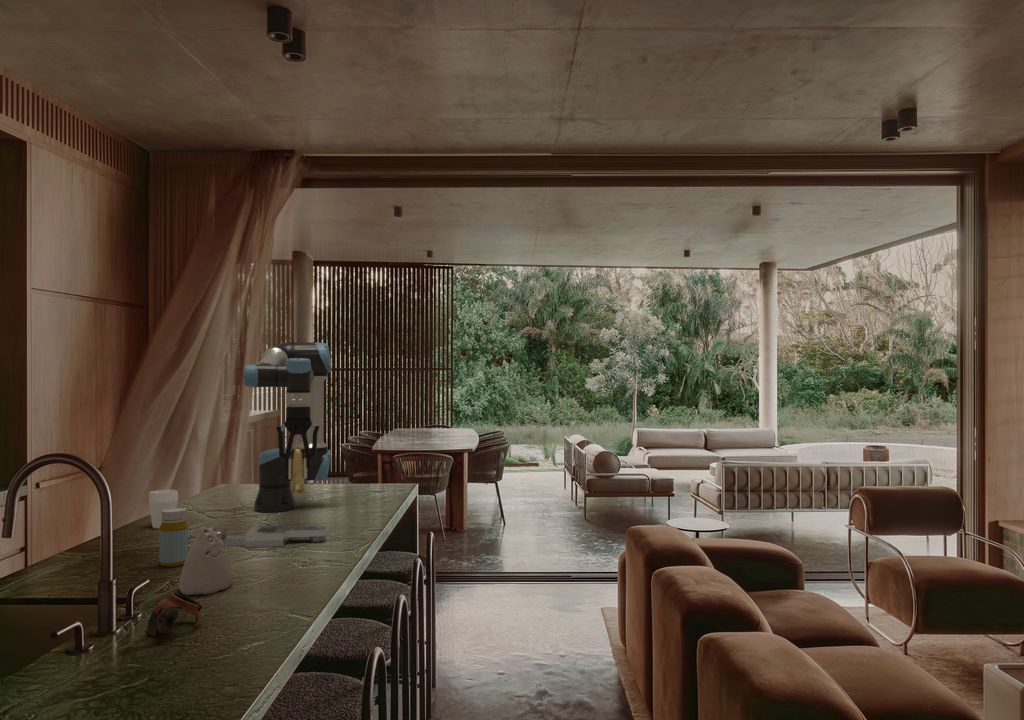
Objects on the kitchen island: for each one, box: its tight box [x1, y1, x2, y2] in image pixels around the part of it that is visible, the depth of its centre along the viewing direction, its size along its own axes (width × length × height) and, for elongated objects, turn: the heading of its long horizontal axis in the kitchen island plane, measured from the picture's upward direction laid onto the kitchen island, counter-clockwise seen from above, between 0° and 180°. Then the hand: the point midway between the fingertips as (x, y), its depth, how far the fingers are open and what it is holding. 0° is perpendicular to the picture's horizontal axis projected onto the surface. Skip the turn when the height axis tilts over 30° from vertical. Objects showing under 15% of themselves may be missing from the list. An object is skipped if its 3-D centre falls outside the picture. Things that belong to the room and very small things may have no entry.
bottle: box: [158, 507, 189, 568], centre depth 190 cm, size 7×7×15 cm
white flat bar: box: [215, 524, 328, 549], centre depth 214 cm, size 11×35×4 cm, turn 99°
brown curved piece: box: [145, 592, 203, 637], centre depth 142 cm, size 12×10×8 cm
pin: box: [291, 447, 305, 494], centre depth 221 cm, size 4×4×14 cm
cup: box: [148, 488, 179, 530], centre depth 236 cm, size 9×9×12 cm
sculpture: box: [178, 526, 233, 596], centre depth 170 cm, size 13×12×15 cm
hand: (297, 478), depth 221 cm, fingers closed on pin, 4 cm apart
